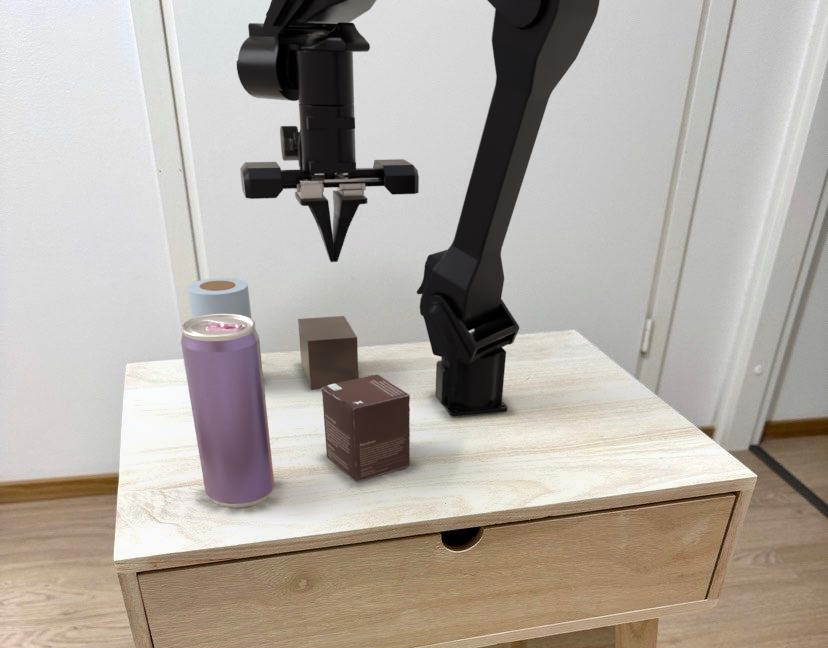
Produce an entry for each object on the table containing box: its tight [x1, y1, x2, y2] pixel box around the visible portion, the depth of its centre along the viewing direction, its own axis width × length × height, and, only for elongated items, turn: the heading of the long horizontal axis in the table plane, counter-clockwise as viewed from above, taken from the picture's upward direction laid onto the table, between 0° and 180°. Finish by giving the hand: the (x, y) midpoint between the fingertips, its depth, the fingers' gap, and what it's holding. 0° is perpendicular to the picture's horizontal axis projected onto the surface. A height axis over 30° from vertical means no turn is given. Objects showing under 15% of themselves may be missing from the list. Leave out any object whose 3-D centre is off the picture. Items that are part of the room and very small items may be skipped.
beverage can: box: [180, 314, 275, 509], centre depth 62 cm, size 6×6×15 cm
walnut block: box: [297, 315, 359, 390], centre depth 88 cm, size 6×8×6 cm
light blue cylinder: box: [186, 277, 252, 319], centre depth 84 cm, size 12×6×12 cm
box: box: [321, 373, 411, 482], centre depth 70 cm, size 6×6×7 cm
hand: (333, 261), depth 87 cm, fingers closed
